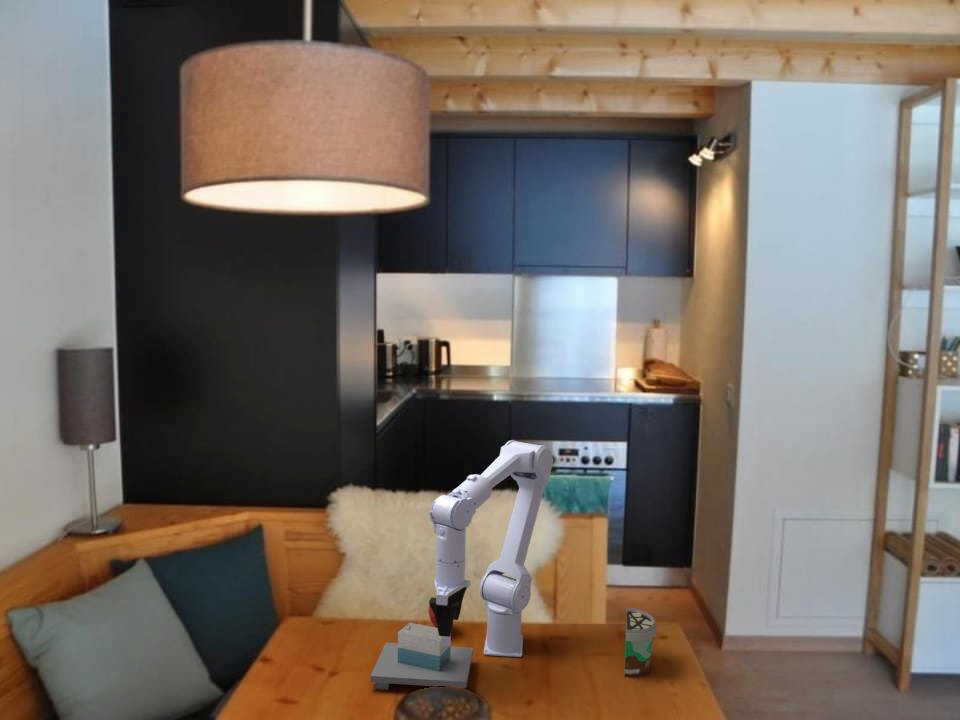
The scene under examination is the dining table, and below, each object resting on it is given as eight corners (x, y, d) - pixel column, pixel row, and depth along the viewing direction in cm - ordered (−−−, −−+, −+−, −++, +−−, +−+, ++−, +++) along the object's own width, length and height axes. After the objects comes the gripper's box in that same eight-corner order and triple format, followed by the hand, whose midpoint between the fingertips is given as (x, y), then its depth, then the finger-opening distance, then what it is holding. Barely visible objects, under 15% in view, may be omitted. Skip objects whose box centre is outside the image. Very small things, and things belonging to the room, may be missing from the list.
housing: (409, 651, 148) (409, 620, 148) (450, 660, 145) (450, 629, 145) (397, 662, 144) (398, 630, 143) (439, 671, 141) (440, 639, 140)
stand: (385, 656, 152) (385, 642, 152) (472, 662, 151) (472, 647, 151) (370, 691, 138) (370, 675, 138) (465, 697, 137) (466, 682, 137)
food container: (656, 684, 144) (658, 634, 143) (624, 680, 145) (626, 630, 144) (654, 655, 156) (656, 609, 155) (624, 652, 157) (626, 606, 156)
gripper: (463, 573, 135) (462, 645, 135) (477, 548, 149) (475, 613, 150) (425, 570, 136) (424, 641, 137) (443, 545, 150) (441, 610, 151)
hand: (449, 627), depth 143 cm, fingers open, 7 cm apart
